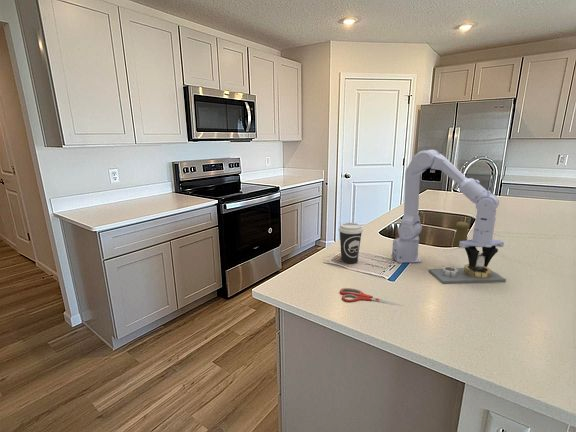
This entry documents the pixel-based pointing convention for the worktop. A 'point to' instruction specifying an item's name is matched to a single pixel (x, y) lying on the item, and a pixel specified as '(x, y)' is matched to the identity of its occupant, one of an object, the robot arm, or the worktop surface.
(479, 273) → the wide socket
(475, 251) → the robot arm
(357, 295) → the scissors
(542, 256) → the worktop surface
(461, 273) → the fitting board
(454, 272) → the narrow socket
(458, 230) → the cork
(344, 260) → the coffee cup
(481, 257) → the metal cylinder peg
